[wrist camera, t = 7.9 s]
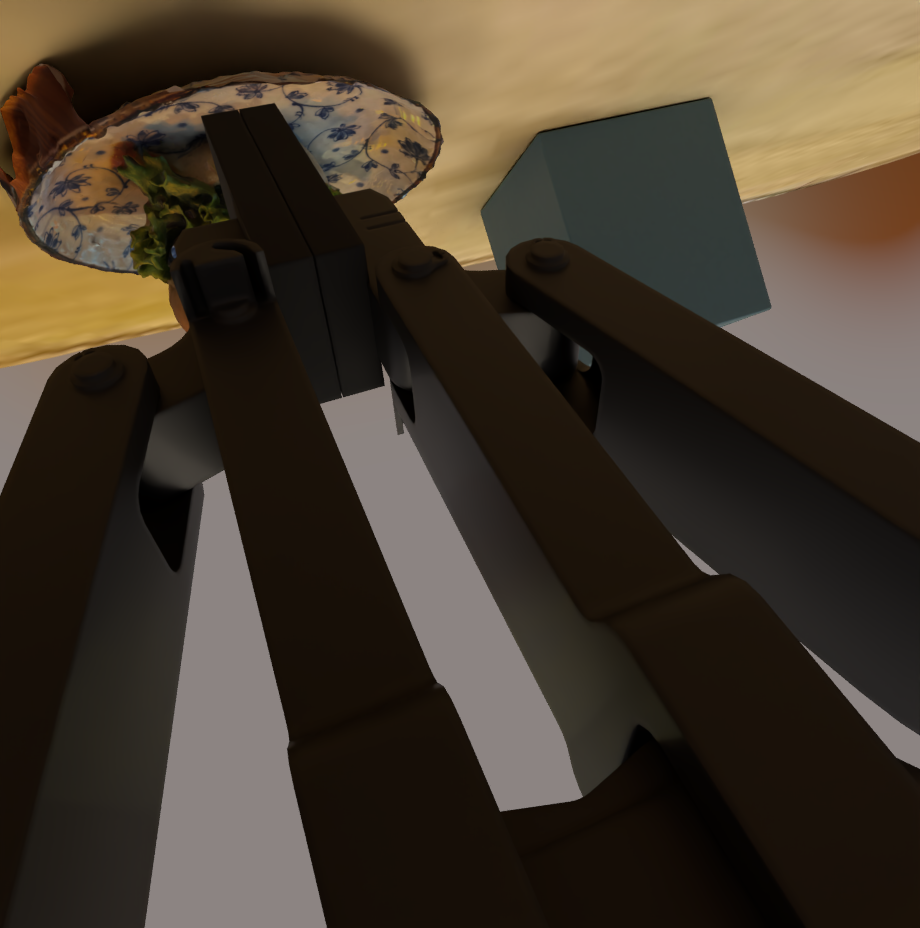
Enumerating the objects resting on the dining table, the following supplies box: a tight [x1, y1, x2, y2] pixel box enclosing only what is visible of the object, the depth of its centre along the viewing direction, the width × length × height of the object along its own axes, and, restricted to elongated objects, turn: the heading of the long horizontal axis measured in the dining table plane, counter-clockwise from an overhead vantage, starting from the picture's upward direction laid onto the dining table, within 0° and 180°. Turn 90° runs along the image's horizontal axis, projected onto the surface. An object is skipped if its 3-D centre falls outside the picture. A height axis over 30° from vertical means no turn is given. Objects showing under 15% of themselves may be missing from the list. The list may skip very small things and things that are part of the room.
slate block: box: [481, 98, 771, 367], centre depth 32 cm, size 8×8×9 cm
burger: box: [0, 64, 444, 332], centre depth 20 cm, size 12×12×8 cm
